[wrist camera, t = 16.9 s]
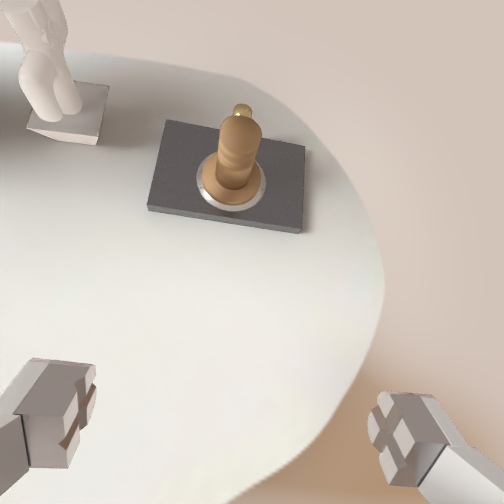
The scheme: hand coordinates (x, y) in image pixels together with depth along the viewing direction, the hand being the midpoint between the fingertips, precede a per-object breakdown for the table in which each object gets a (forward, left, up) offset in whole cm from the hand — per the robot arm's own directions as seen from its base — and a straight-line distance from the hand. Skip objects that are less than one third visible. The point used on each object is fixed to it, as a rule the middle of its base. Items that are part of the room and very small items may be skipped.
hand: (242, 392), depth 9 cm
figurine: (-19, +26, -26) cm, 41 cm away
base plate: (0, +23, -25) cm, 34 cm away
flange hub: (0, +22, -24) cm, 32 cm away
